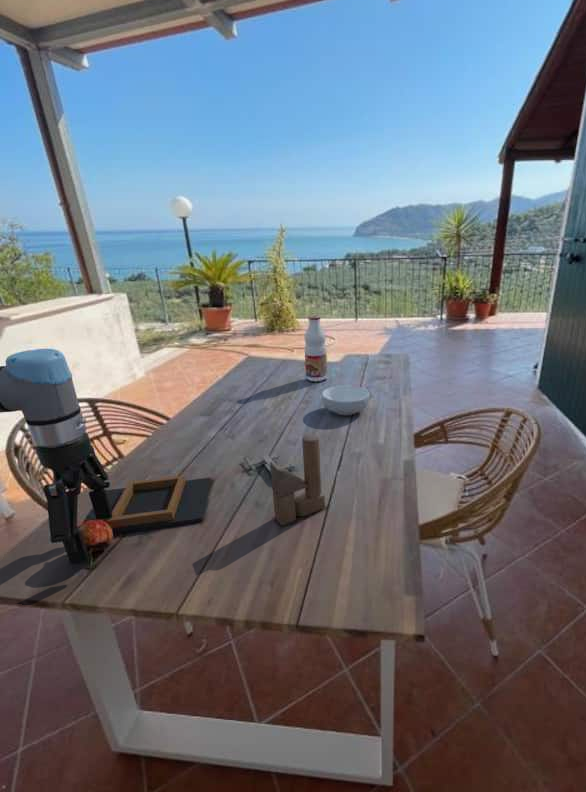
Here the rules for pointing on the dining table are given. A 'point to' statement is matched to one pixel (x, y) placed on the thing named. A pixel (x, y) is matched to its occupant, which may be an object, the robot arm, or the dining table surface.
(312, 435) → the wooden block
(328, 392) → the cereal bowl
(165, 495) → the back pad
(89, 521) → the red round lump
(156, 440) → the dining table surface
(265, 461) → the clamp
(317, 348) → the fruit juice
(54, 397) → the robot arm
